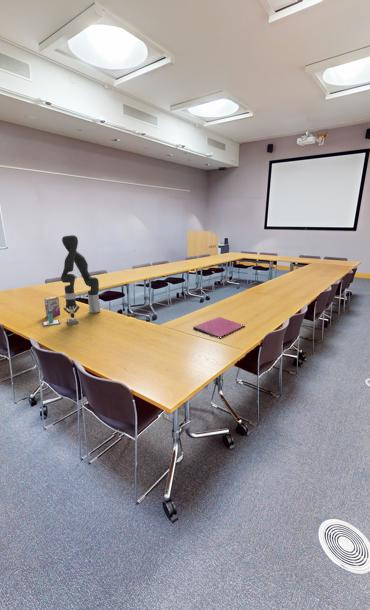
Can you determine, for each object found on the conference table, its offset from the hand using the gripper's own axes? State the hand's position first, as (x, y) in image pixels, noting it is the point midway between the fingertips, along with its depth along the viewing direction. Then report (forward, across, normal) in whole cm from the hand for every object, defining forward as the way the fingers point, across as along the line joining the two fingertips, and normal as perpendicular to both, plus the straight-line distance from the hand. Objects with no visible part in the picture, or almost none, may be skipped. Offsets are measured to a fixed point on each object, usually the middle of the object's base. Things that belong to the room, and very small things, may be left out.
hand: (72, 317), depth 242 cm
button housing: (+4, 0, 0) cm, 4 cm away
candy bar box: (+5, +12, -27) cm, 30 cm away
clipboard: (+4, +16, -6) cm, 18 cm away
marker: (+3, +16, -6) cm, 18 cm away
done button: (+4, 0, 0) cm, 4 cm away
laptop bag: (+6, -101, +69) cm, 122 cm away
